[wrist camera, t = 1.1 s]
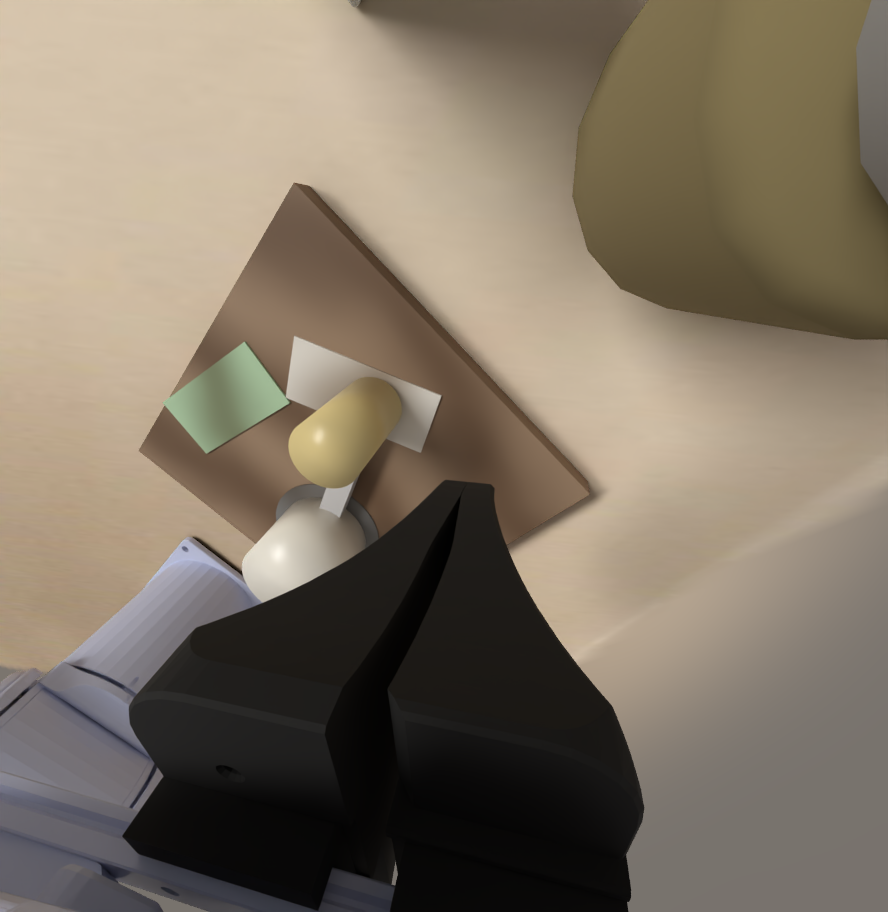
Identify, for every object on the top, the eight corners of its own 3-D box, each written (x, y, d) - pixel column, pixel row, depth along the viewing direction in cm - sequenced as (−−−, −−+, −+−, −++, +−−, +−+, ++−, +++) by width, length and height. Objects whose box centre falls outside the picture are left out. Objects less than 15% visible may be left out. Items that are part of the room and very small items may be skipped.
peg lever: (351, 578, 25) (312, 649, 21) (277, 542, 25) (222, 607, 20) (432, 405, 18) (399, 457, 14) (332, 354, 18) (268, 392, 14)
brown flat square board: (371, 616, 29) (364, 632, 27) (153, 440, 25) (135, 450, 24) (587, 481, 20) (590, 495, 19) (307, 183, 16) (289, 179, 15)
